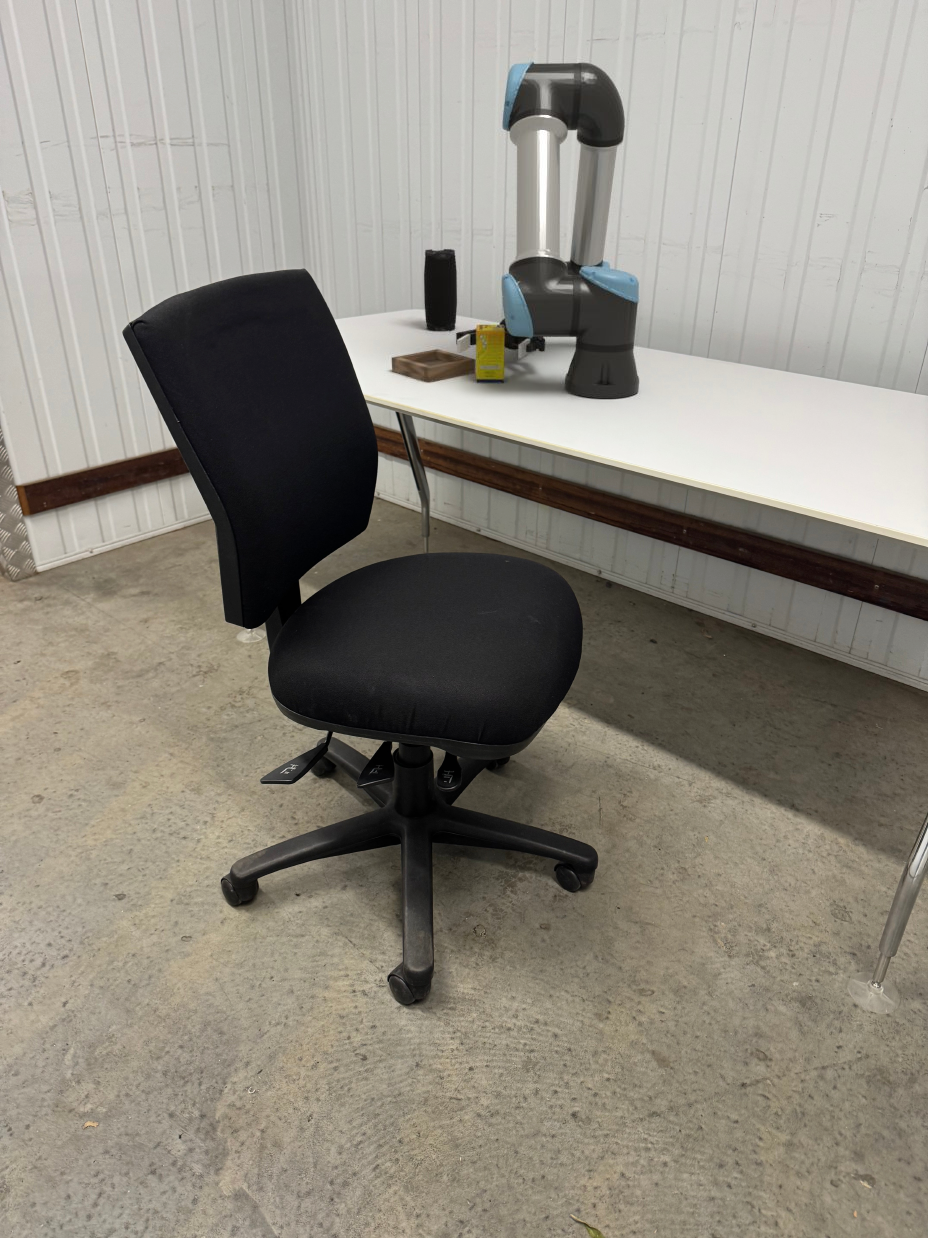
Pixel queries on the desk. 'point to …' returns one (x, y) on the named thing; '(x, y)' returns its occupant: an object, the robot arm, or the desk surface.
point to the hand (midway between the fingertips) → (488, 349)
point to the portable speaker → (440, 289)
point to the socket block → (433, 365)
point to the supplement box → (490, 353)
